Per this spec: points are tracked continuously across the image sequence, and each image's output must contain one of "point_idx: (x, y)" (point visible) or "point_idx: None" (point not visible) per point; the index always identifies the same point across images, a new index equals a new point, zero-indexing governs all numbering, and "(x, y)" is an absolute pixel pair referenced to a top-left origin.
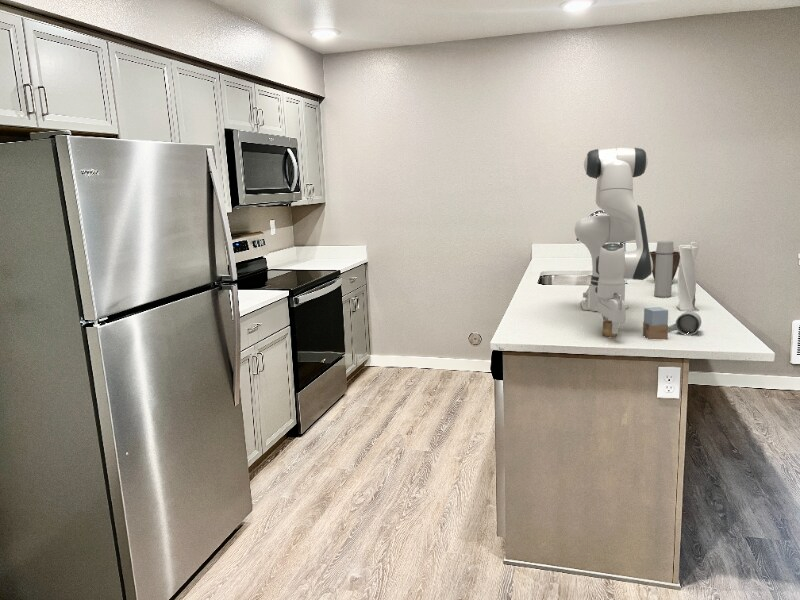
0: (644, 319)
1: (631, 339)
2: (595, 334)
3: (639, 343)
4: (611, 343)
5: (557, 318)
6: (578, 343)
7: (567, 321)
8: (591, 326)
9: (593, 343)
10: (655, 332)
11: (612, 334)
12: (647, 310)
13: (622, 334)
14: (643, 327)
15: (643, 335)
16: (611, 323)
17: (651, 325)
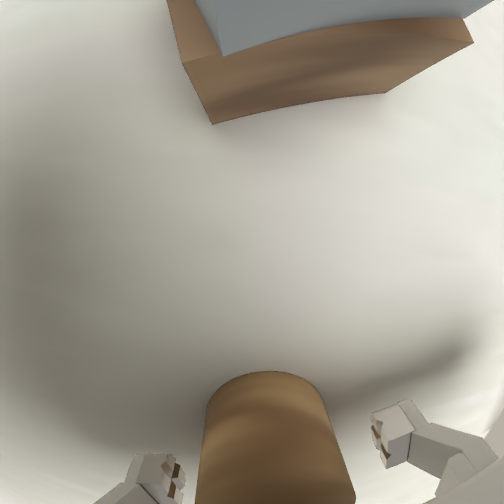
0: (250, 14)
1: (386, 254)
2: None
3: (485, 204)
4: (464, 382)
5: (9, 491)
6: (422, 487)
7: (24, 488)
8: (44, 452)
9: None
10: None
11: (327, 417)
12: None
13: (194, 324)
14: (217, 92)
15: (231, 117)
16: (350, 502)
17: (455, 19)
